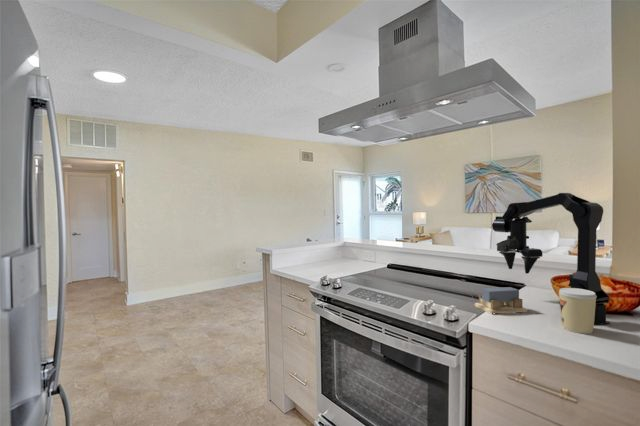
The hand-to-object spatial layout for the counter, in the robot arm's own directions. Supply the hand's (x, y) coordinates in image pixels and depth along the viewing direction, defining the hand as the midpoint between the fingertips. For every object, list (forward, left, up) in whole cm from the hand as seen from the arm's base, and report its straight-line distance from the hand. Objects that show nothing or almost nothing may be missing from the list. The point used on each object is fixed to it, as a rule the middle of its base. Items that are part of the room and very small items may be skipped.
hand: (518, 271), depth 132 cm
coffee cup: (-31, +5, -12) cm, 34 cm away
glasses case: (-9, +15, -8) cm, 19 cm away
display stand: (-9, +15, -12) cm, 21 cm away
